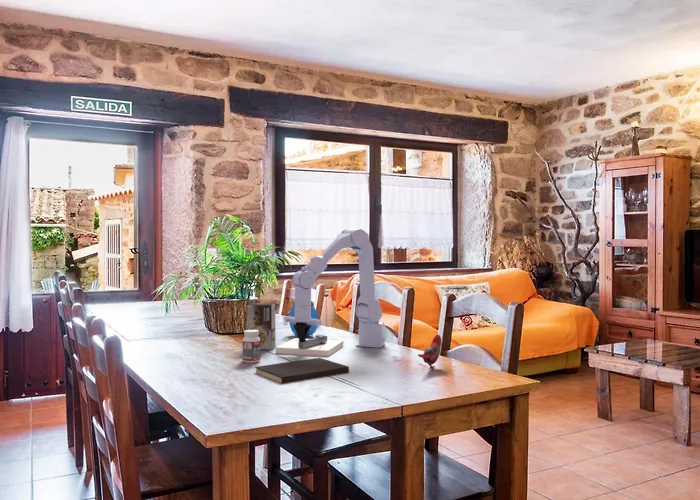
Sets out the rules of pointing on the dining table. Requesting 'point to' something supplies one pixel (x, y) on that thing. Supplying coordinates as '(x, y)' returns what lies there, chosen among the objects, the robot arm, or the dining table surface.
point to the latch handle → (312, 341)
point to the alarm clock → (312, 328)
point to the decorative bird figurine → (432, 352)
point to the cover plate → (310, 348)
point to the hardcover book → (301, 370)
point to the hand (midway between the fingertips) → (302, 344)
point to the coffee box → (263, 323)
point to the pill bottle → (251, 346)
